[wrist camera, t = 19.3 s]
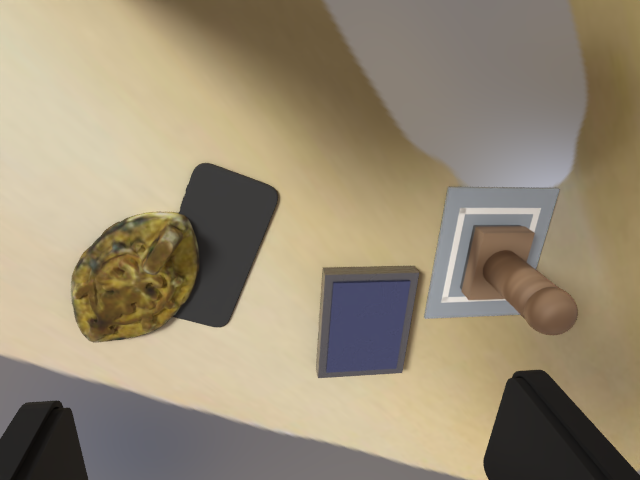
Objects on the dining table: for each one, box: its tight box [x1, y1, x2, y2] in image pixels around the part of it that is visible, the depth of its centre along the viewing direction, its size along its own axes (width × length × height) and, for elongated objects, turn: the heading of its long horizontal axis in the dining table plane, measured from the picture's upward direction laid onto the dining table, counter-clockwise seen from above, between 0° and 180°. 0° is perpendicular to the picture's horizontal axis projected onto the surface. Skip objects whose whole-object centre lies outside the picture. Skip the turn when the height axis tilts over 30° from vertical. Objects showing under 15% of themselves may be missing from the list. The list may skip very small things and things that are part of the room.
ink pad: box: [316, 266, 419, 378], centre depth 43 cm, size 12×9×2 cm
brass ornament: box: [71, 212, 199, 342], centre depth 36 cm, size 9×5×15 cm
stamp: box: [460, 225, 578, 335], centre depth 37 cm, size 7×5×11 cm
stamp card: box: [424, 187, 560, 319], centre depth 42 cm, size 14×11×1 cm
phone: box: [173, 163, 278, 327], centre depth 38 cm, size 7×1×15 cm
